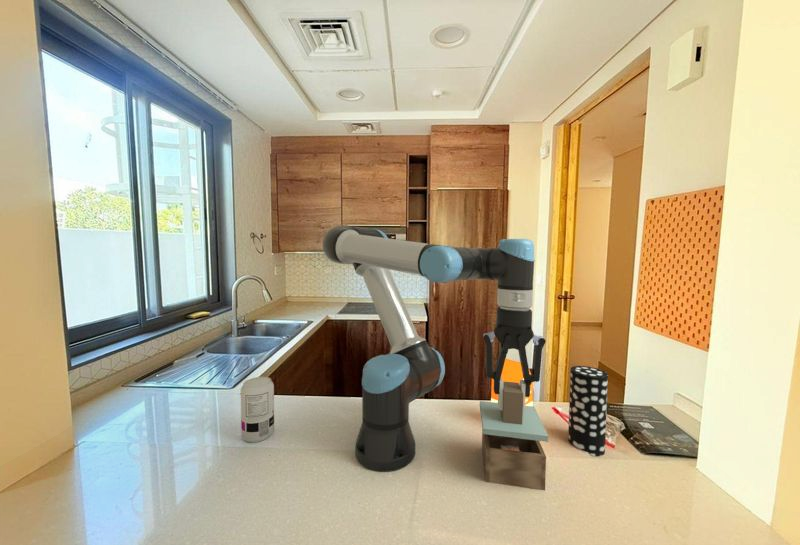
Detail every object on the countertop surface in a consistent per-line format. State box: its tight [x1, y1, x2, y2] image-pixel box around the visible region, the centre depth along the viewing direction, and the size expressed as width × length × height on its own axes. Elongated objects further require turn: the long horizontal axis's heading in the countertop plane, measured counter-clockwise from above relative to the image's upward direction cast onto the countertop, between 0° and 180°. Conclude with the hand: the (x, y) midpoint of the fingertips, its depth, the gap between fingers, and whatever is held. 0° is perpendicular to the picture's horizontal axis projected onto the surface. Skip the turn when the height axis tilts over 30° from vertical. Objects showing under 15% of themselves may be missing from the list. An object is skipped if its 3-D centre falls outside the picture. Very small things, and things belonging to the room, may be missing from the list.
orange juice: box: [490, 358, 534, 406], centre depth 90 cm, size 8×9×20 cm
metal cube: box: [501, 445, 520, 451], centre depth 72 cm, size 4×4×4 cm
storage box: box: [481, 428, 547, 491], centre depth 72 cm, size 12×12×8 cm
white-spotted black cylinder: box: [567, 365, 609, 457], centre depth 81 cm, size 8×8×20 cm
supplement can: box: [240, 376, 275, 443], centre depth 85 cm, size 8×8×15 cm
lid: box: [479, 381, 549, 443], centre depth 72 cm, size 13×13×8 cm
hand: (510, 408), depth 72 cm, fingers closed on lid, 4 cm apart
